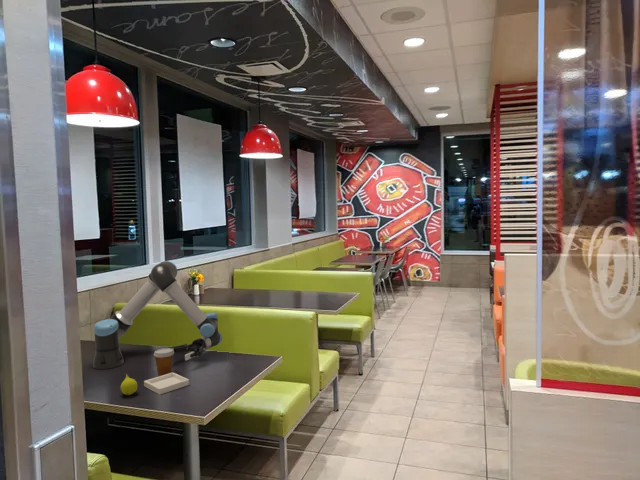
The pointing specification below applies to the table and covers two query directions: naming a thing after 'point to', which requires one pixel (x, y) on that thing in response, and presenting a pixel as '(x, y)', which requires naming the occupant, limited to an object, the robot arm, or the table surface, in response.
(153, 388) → the square tray
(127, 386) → the ornament
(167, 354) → the disposable coffee cup
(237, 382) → the table surface
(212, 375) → the table surface
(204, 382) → the table surface
